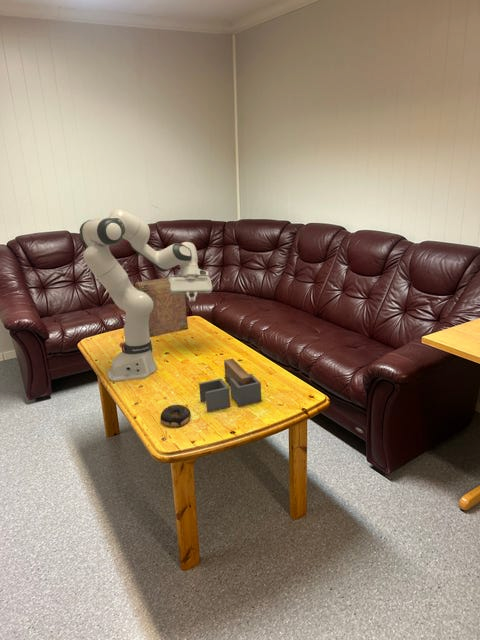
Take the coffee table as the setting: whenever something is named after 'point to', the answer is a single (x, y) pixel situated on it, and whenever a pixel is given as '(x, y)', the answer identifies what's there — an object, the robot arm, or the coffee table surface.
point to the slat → (236, 373)
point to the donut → (175, 415)
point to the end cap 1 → (214, 394)
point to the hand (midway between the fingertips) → (192, 301)
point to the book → (164, 307)
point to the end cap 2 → (246, 392)
